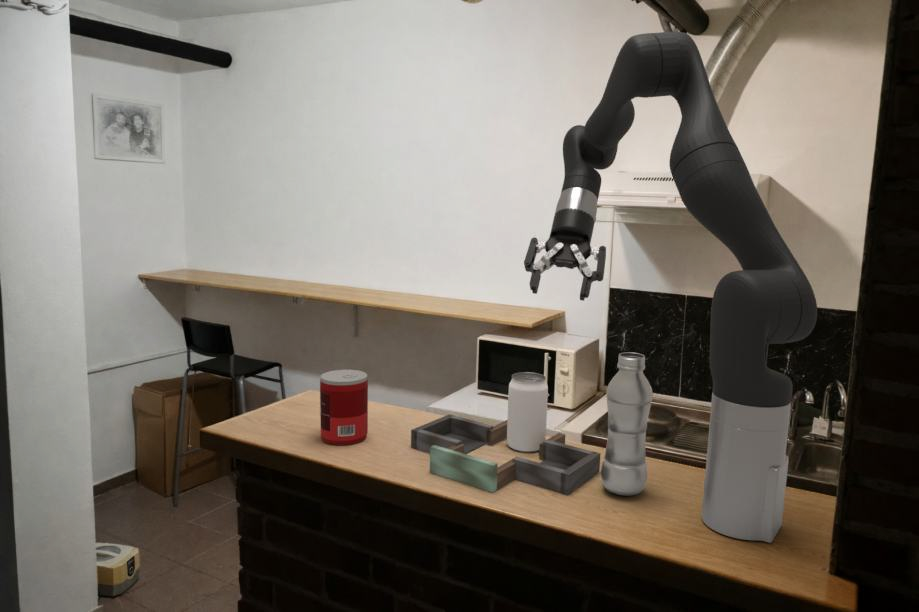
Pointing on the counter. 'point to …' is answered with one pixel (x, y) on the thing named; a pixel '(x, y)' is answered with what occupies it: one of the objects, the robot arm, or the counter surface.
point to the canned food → (344, 406)
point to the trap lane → (462, 436)
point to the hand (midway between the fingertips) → (557, 295)
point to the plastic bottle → (627, 427)
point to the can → (527, 411)
